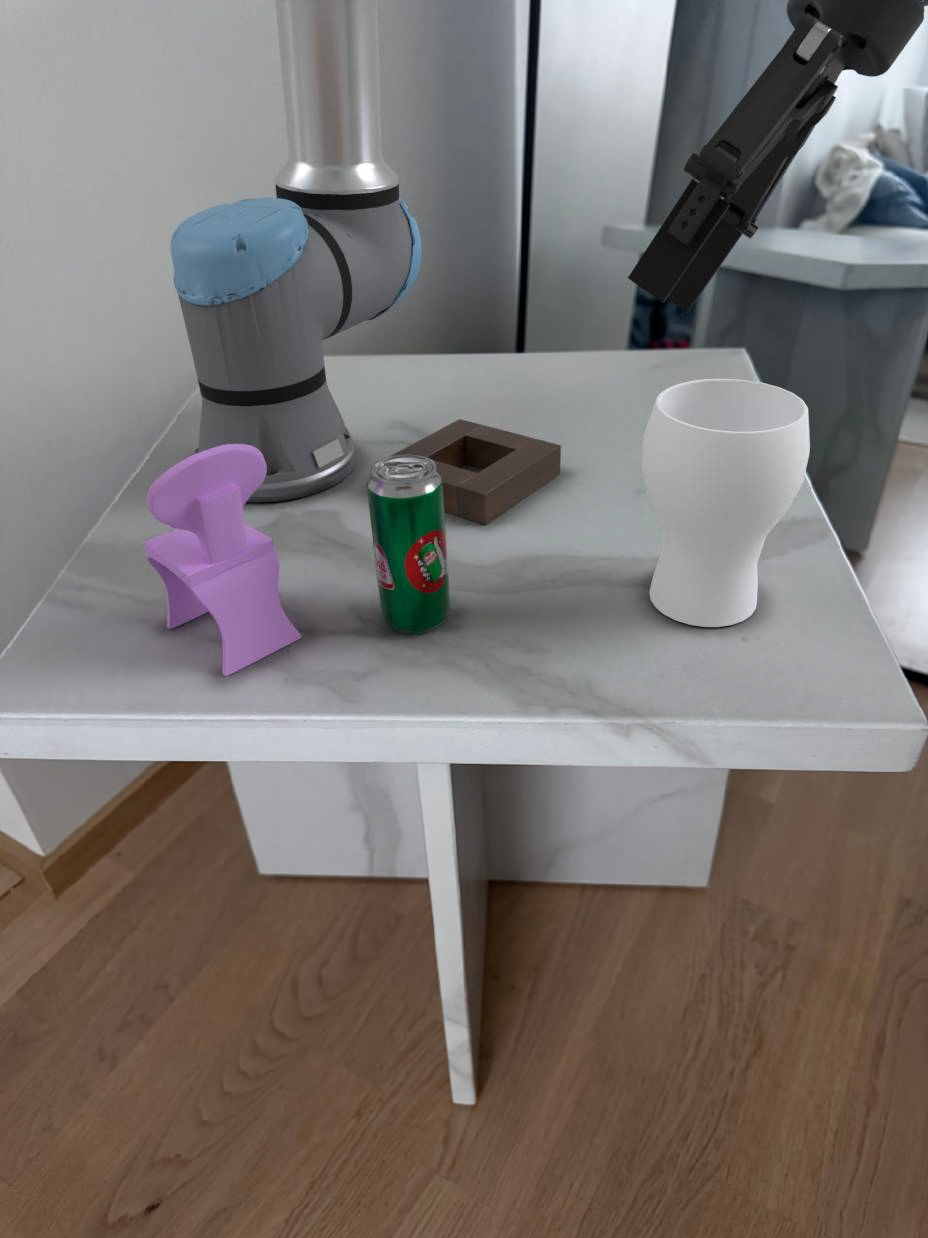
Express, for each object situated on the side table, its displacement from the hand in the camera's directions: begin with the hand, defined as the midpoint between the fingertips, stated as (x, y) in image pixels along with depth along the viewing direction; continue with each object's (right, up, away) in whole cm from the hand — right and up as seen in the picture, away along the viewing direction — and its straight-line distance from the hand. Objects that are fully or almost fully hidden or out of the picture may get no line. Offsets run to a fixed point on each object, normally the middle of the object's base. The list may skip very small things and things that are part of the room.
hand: (660, 297), depth 61 cm
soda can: (-17, -23, +3) cm, 29 cm away
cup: (+4, -21, +3) cm, 22 cm away
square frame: (-13, -10, +21) cm, 26 cm away
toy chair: (-31, -24, +2) cm, 39 cm away
